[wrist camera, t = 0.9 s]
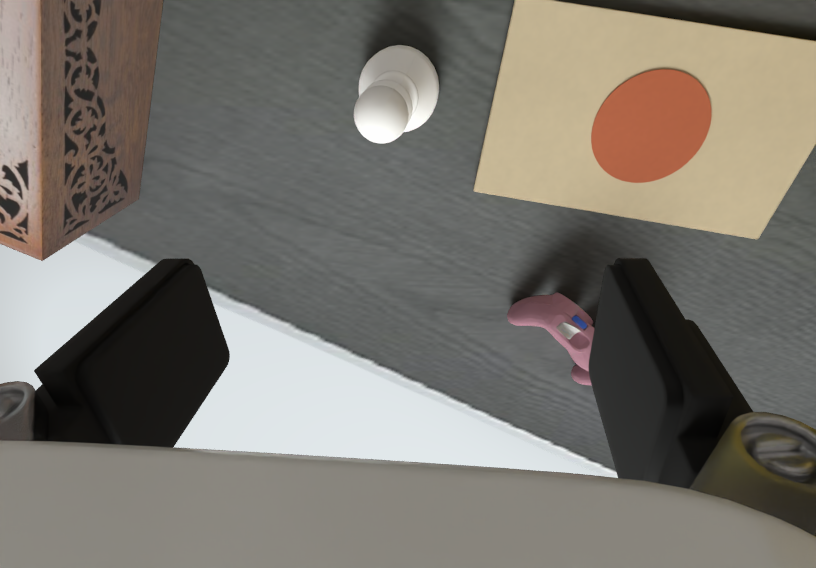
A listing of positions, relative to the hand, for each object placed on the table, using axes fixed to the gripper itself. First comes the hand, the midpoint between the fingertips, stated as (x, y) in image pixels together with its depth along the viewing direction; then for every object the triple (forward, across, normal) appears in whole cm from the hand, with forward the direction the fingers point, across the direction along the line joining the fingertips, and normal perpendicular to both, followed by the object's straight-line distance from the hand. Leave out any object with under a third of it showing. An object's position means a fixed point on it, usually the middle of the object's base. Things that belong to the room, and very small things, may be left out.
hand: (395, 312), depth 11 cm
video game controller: (+24, -10, +18) cm, 31 cm away
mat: (+24, -13, +2) cm, 27 cm away
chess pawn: (+24, +3, -1) cm, 24 cm away
